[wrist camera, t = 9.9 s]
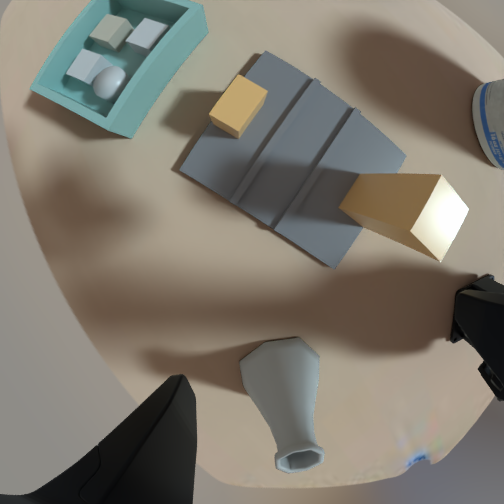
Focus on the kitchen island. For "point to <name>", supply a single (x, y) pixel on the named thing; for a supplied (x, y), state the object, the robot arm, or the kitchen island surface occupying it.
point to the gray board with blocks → (317, 168)
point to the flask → (286, 399)
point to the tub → (120, 59)
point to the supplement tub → (490, 120)
